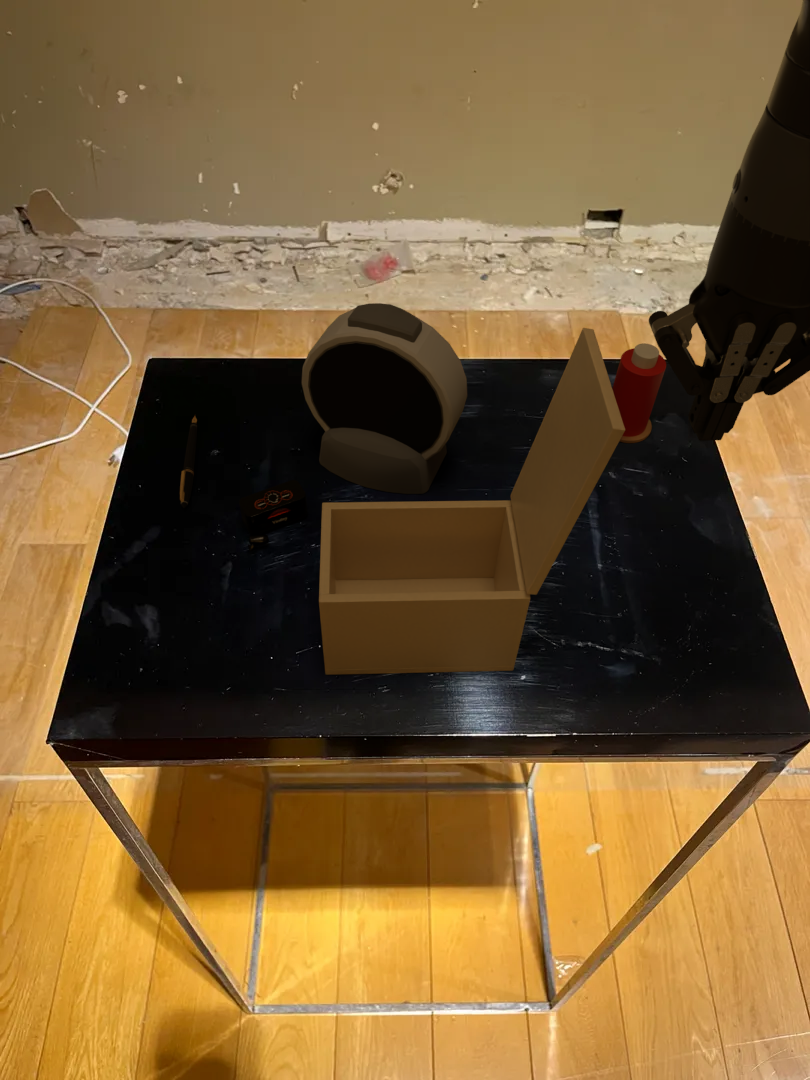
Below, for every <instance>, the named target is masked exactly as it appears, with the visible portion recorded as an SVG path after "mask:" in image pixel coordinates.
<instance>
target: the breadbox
mask: <svg viewBox="0 0 810 1080" xmlns="http://www.w3.org/2000/svg"><path fill="white" fill-rule="evenodd" d="M320 524H321V526H320V527H321V528H320V556H319V557H320V559H319V586H318V588H319V589H318V606H319V618H320V619H319V620H320V629H321V640H322V641H321V643H322V652H323V663H324V674H325V675H326V676H328V675H329V676H330V675H372V674H373V675H374V674H375V675H377V674H379V675H381V674H411V673H412V674H419V673H421V674H423V673H425V674H426V673H466V672H467V673H469V672H470V673H471V672H503V671H504V672H511V671H512V672H513V671H514V669H515V665H516V660H517V657H518V653H519V648H520V644H521V640H522V636H523V632H524V628H525V624H526V619H527V617H528V616H527V615H528V610H529V607H530V603H531V598H532V597H531V594H527V591H526V585H525V579H524V573H523V568H522V562H521V556H520V550H519V544H518V538H517V532H516V526H515V520H514V515H513V509H512V503H511V499H509V500H508V499H506V500H433V501H431V500H429V501H428V500H427V501H426V500H425V501H423V500H422V501H421V500H420V501H349V502H348V501H344V502H343V501H342V502H339V501H338V502H321V523H320Z"/></svg>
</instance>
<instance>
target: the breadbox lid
mask: <svg viewBox="0 0 810 1080" xmlns="http://www.w3.org/2000/svg"><path fill="white" fill-rule="evenodd" d="M612 388H613V385H612V383H611V380H610V377H609V374H608V371H607V367H606V364H605V361H604V358H603V355H602V351H601V349H600V345H599V342H598V339H597V336H596V332H595V330H594V329H593V328H589V327H588V328H587V327H583V328H582V329H581V331H580V333H579V335H578V338H577V341H576V343H575V345H574V348H573V350H572V352H571V353H570V357H569V359H568V361H567V364H566V366H565V369H564V370H563V373H562V375H561V378H560V380H559V382H558V384H557V386H556V389H555V390H554V391H555V392H554V393H553V396H552V398H551V401H550V403H549V405H548V408H547V410H546V412H545V415H544V417H543V419H542V422H541V424H540V426H539V428H538V430H537V433H536V435H535V438H534V441H533V442H532V445H531V446H530V449H529V451H528V454H527V456H526V457H525V461H524V463H523V465H522V467H521V470H520V472H519V475H518V477H517V479H516V481H515V483H514V486H513V488H512V491H511V492H510V495H509V496H510V500H511V503H512V509H513V515H514V520H515V526H516V532H517V538H518V544H519V550H520V556H521V562H522V568H523V573H524V579H525V585H526V591H527V594H530V595H535V596H537V595H538V593H539V591H540V590H541V588H542V586H543V584H544V582H545V580H546V578H547V577H548V575H549V573H550V571H551V569H552V567H553V565H554V564H555V561H556V560H557V558H558V556H559V554H560V552H561V550H562V549H563V547H564V545H565V544H566V541H567V539H568V537H570V536H569V535H570V534H571V532H572V530H573V528H574V526H575V524H576V522H577V520H578V519H579V517H580V516H581V513H582V512H583V509H584V508H585V506H586V504H587V502H588V500H589V499H590V497H591V494H592V492H593V491H594V489H595V487H596V485H597V483H598V482H599V481H600V478H601V476H602V474H603V472H604V471H605V469H606V468H607V467H606V466H607V465H608V463H609V461H610V459H611V458H612V456H613V454H614V452H615V450H616V448H617V446H618V445H619V444H620V442H619V441H620V439H621V437H622V435H623V433H624V431H625V427H624V424H623V421H622V418H621V415H620V411H619V408H618V405H617V402H616V399H615V396H614V392H613V389H612Z"/></svg>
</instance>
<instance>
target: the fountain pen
mask: <svg viewBox="0 0 810 1080" xmlns="http://www.w3.org/2000/svg"><path fill="white" fill-rule="evenodd" d="M197 422H198V419H197V417H196V415H194V416H193V417H192V419H191V423H190V426H189V431H188V436H187V441H186V448H185V453H184V462H183V468H182V470H181V475H180V486H179V501H180V505H181V507H182V508H183V509H186V508H187V507H188V506H189V503H190V500H191V496H192V491H193V485H194V479H195V478H194V477H195V462H196V453H197V440H198V423H197Z"/></svg>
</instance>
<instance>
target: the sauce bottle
mask: <svg viewBox="0 0 810 1080" xmlns="http://www.w3.org/2000/svg"><path fill="white" fill-rule="evenodd" d="M666 369H667V361H666V359H665V357H663V356H662V355H661V354H660V349H658V348H657V347H656V346H655V345H654V344H651V343H647V342H646V343H644V342H643V343H638V344H637V345H635V346H634V348H630V349H627V350H625V351H624V352H623V353H622V354H621V355H620V359H619V362H618V367H617V370H616V372H615V373H616V374H615V377H614V381H613V383H612V389H613V392H614V396H615V399H616V402H617V405H618V408H619V411H620V415H621V418H622V421H623V424H624V427H625V431H624V433H623V435H622V436H626V437H632V436H637V435H640V434H641V433H643V432H644V431H645V429H646V426H647V423H648V420H649V419H650V417H651V415H652V411H653V408H654V404H655V403H656V399H657V396H658V393H659V390H660V387H661V384H662V380H663V378H664V375H665V373H666Z"/></svg>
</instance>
